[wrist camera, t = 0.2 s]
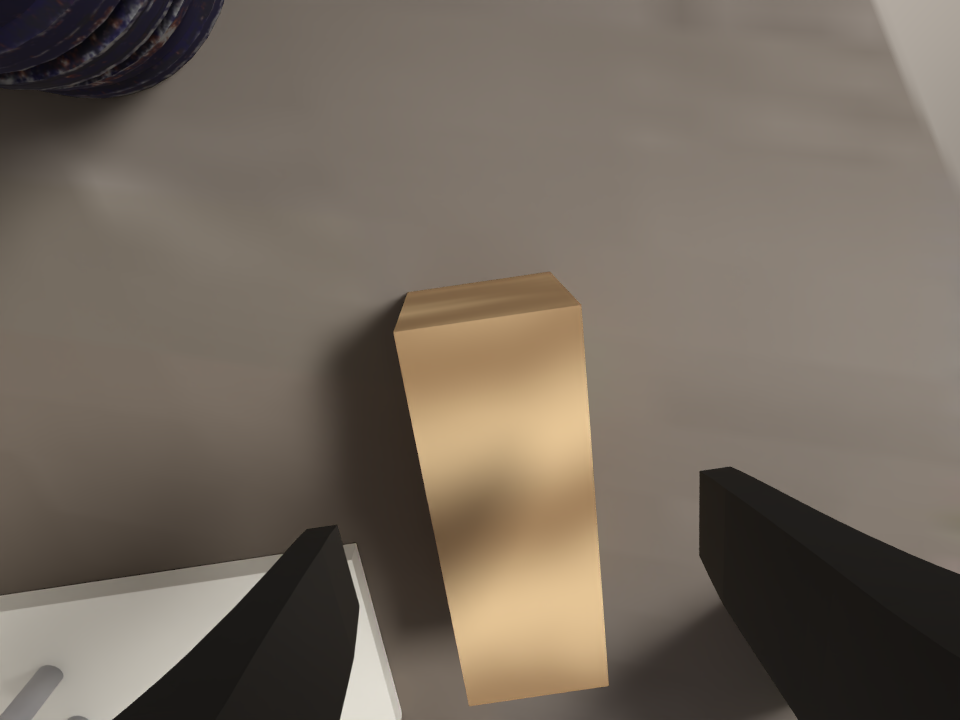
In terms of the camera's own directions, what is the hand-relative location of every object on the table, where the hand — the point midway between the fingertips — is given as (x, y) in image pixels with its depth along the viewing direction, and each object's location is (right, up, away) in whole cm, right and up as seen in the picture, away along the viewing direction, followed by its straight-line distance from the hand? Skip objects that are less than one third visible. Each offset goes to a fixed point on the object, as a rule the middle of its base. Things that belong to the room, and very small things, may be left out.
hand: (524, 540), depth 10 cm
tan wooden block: (0, 0, +11) cm, 11 cm away
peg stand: (-14, -10, +13) cm, 21 cm away
